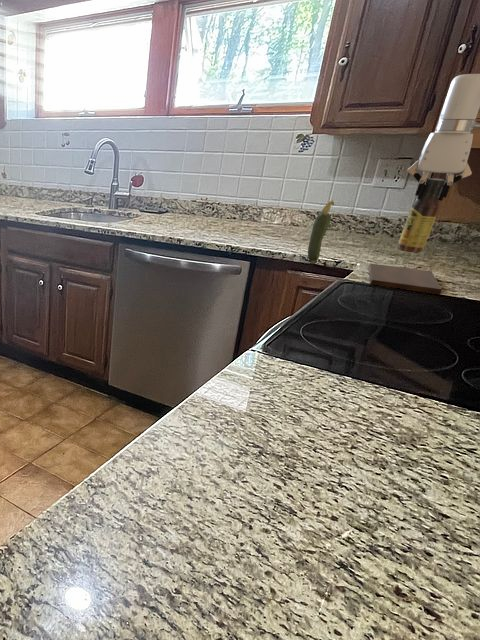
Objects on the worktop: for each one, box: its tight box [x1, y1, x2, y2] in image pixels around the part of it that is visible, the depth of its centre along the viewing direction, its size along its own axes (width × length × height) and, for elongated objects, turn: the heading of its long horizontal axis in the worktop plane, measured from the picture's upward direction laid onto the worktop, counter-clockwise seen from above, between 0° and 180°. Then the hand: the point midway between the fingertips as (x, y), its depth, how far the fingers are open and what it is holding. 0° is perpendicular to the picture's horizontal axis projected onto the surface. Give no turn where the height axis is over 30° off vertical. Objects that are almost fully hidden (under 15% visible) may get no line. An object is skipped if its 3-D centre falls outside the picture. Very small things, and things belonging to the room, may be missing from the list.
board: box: [367, 263, 443, 295], centre depth 155 cm, size 16×24×2 cm, turn 148°
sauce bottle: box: [397, 177, 446, 254], centre depth 147 cm, size 7×6×20 cm
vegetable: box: [307, 200, 335, 265], centre depth 168 cm, size 4×4×20 cm
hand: (429, 198), depth 145 cm, fingers closed on sauce bottle, 4 cm apart
